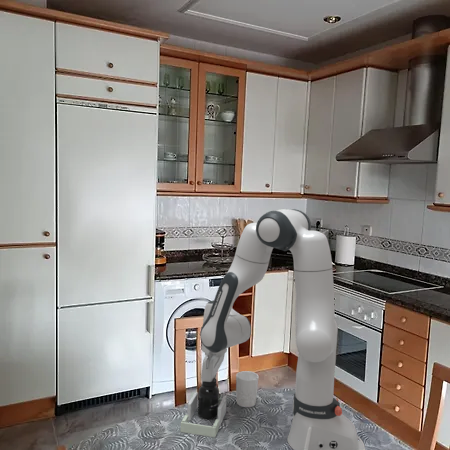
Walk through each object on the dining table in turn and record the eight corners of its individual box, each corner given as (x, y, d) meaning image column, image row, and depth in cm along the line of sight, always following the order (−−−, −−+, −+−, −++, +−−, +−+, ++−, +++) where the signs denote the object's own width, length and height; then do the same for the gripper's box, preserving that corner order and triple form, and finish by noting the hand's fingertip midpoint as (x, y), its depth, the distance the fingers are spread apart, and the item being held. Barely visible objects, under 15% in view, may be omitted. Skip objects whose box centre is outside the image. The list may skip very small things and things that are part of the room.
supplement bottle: (215, 421, 140) (216, 385, 139) (195, 418, 141) (196, 382, 141) (220, 410, 147) (221, 376, 146) (200, 408, 148) (201, 374, 147)
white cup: (254, 410, 148) (255, 381, 147) (232, 406, 150) (233, 378, 150) (259, 399, 156) (260, 372, 155) (238, 396, 158) (239, 369, 157)
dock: (218, 428, 136) (219, 419, 135) (215, 437, 131) (215, 427, 131) (185, 423, 138) (185, 414, 138) (180, 431, 133) (180, 422, 133)
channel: (225, 412, 146) (226, 396, 145) (220, 425, 138) (220, 408, 137) (194, 407, 148) (195, 392, 148) (187, 420, 140) (187, 404, 140)
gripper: (216, 357, 140) (214, 399, 141) (228, 337, 160) (226, 373, 161) (197, 355, 141) (195, 396, 142) (212, 335, 161) (210, 371, 162)
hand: (212, 383), depth 152 cm, fingers closed
